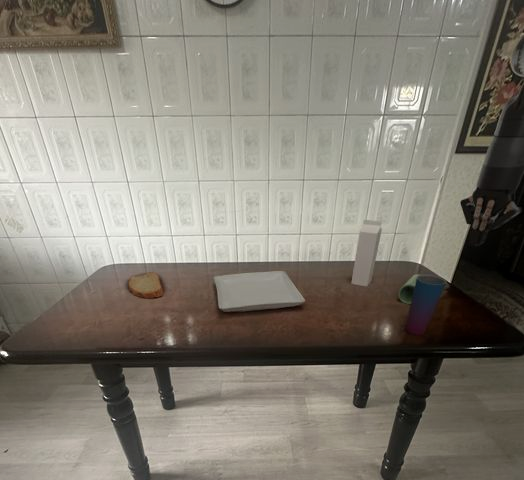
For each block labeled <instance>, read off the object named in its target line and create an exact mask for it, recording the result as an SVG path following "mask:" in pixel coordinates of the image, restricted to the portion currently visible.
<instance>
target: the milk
mask: <svg viewBox="0 0 524 480" xmlns="http://www.w3.org/2000/svg"><path fill="white" fill-rule="evenodd" d="M382 230H383V229H382V221H381V220H373V219H372V220H371V219H364V220H363V221H362V226H361V227H360V230H359V233H358V240H357V245H356V252H355V258H354V265H353V271H352V277H351V282H350V283H351V285H356V286H360V287H366V288H367V287H368V286H369V285H371V283H372V280H373V275H374V270H375V264H376V260H377V256H378V255H377V254H378V251H379V247H380V246H379V245H380V240H381V237H382V236H381V235H382Z"/></svg>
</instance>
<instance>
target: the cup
mask: <svg viewBox="0 0 524 480" xmlns="http://www.w3.org/2000/svg"><path fill="white" fill-rule="evenodd" d="M446 284H447V279H445V278H443V277H442V276H439V275H434V274H421V275H419V276H417V279H416V283H415V288H414V292H413V297H412V301H411V304H410V307H409V311H408V315H407V319H406V324H405V331H406V332H407V333H409V334H411V335H416V336H419V335H423V334H425V332H426V330H427V328H428V326H429V323H430V321H431V319H432V317H433V314H434V312H435V310H436V307H437V305H438V303H439V300H440V298H441V295H442V293H443V291H444V289H445V287H446Z"/></svg>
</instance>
